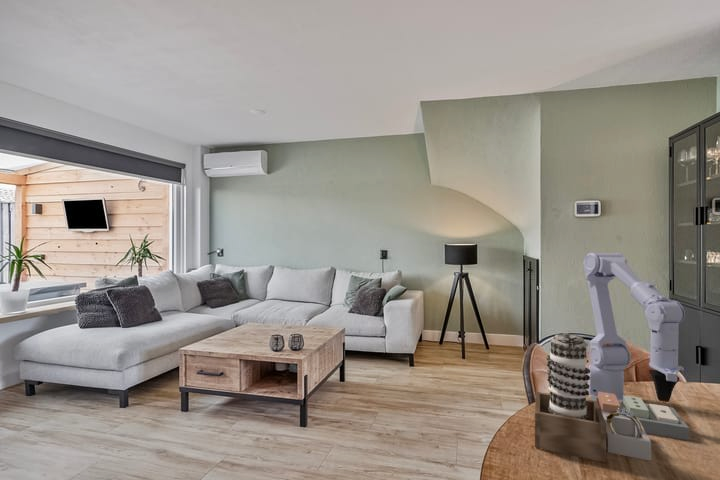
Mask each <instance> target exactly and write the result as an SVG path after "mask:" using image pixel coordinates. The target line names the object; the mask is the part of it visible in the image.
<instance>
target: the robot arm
mask: <svg viewBox="0 0 720 480" xmlns="http://www.w3.org/2000/svg"><path fill="white" fill-rule="evenodd" d="M582 262H583V269H584V275H585V279H586V280H587V286H588V290H589V296H590V303H591V308H592V314H593V320H594V325H595V329H596V336H595V337H593V338H592V339H591V340H590V341H589V358H590V361H591V362H592V364H589V365H588V367H587V368H588V369H589V370H590V373H588V374H587V375H588V376H589V377H590V380H587V382H586V383H587V384H588V385H589V388H588V389H587V391H588V392H589V396H590V398H591V395H592V396H598V392H605V393H611V394H615V396H616V398H617V399H618V400H623V395H625V393H624V391H625V390H624V389H625V385H624V384H625V383H624V381H625V378H624V377H625V370H627V366H629V365H630V364H631V362H632V354H631V352H630V350H629V348H628V346H627V341H626V340H625V339H624V338H622V337H621V336H620V335H618V332H617V328H616V323H615V321H616V320H615V318H614V312H613V308H612V307H613V306H612V302H611V297H610V296H611V295H610V290H609V286H608V285H609V283H610V282H611V281H612V280H614V279H615V278H618V280H619V281H621V282H622V283H623V284H625V286H627V288H629V289H630V291H629V294H630V296H631V297H632V298H633V299H634V300H635V302H637V303H638V304H639V306H641V307H642V309H644V315H645V318H646V319H647V326H648V329H650V341H649V343H650V348H649V349H650V350H649V353H650V354H649V362H648V366H649V367H650V368H652V369H649V370H648V373H649V374H650V376H651V379H652V381H653V384H654V389H655V393H656V398H657V400H658V401H659V402H665V403H669V402H670V401H671V397H672V393H673V390H674V389H675V386H676V385H677V383H678V382H679V381H680V377H679V376H678V373H679V371H681V372H682V371H685V369H684V367H683V366H682V365H679V334H680V332H679V327H680V325H679V324H681V323H683V322H684V320H685V319H686V311H685V308H684V306H682V304H681V303H680V301H677V300H672V299H669V298H667V296H666V295H664V294H662V293H661V291H659V290H658V289H657V288H656V287H655V284H654V283H652V282H649V281H642V279H641V278H639V276H638V275H637V273H635V272H634V270H632V268H631V267H630V266H629V265H628V260H627V258H626V257H624V256H623V254H622V253H620V252H611V253H610V252H589V253H587V254H586V256H585V258H584V260H583V261H582Z"/></svg>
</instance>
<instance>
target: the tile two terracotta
mask: <svg viewBox="0 0 720 480" xmlns="http://www.w3.org/2000/svg"><path fill="white" fill-rule="evenodd" d="M598 403H599V406H600V409H601V411H602V412H608V413H612V412H613V411H615V410H618V408H619V409H620V410H621V406H620V404H619V402H618V400H617V398H616V396H615V394H611V393H605V392H598Z"/></svg>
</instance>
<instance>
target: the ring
mask: <svg viewBox="0 0 720 480" xmlns="http://www.w3.org/2000/svg"><path fill="white" fill-rule="evenodd" d="M628 410H629V409H627V410H625V408H623V409H621V410H620V409H619V408H618V410H615V411H613V412H612V413H611V414H610V415H609V416H608V417H607V422H608V423H609V426H610V428H611V431H612V433H613V434H617V433H616V432H615V431H614V429H613V427H612V423H611V421H612V418H613V417H615V416H619V415H621V416H626V417H628V418H630V419H631V420H632V421H633V422H634V424H635V426H636V428H637V436H636V438H641V433H642V426H641V424H640V422H639V421H638V419H637V418H636V417H635V416H633V413H632V414H631V411H628Z"/></svg>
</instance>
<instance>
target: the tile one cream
mask: <svg viewBox="0 0 720 480" xmlns="http://www.w3.org/2000/svg"><path fill="white" fill-rule="evenodd" d="M649 404H650V406H649V409H650V410H651V412H652V414H653V415H654V417H655V418H656V420H657V421H663V422H669V423H675V424H678V423H679V420H678V419H677V418H676V416H675V415H674V414H673V413H672V411H671V410H670V409H669V407H670V406H667V405H662V404H661V405H660V404H655V403H654V404H653V403H649Z"/></svg>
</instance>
